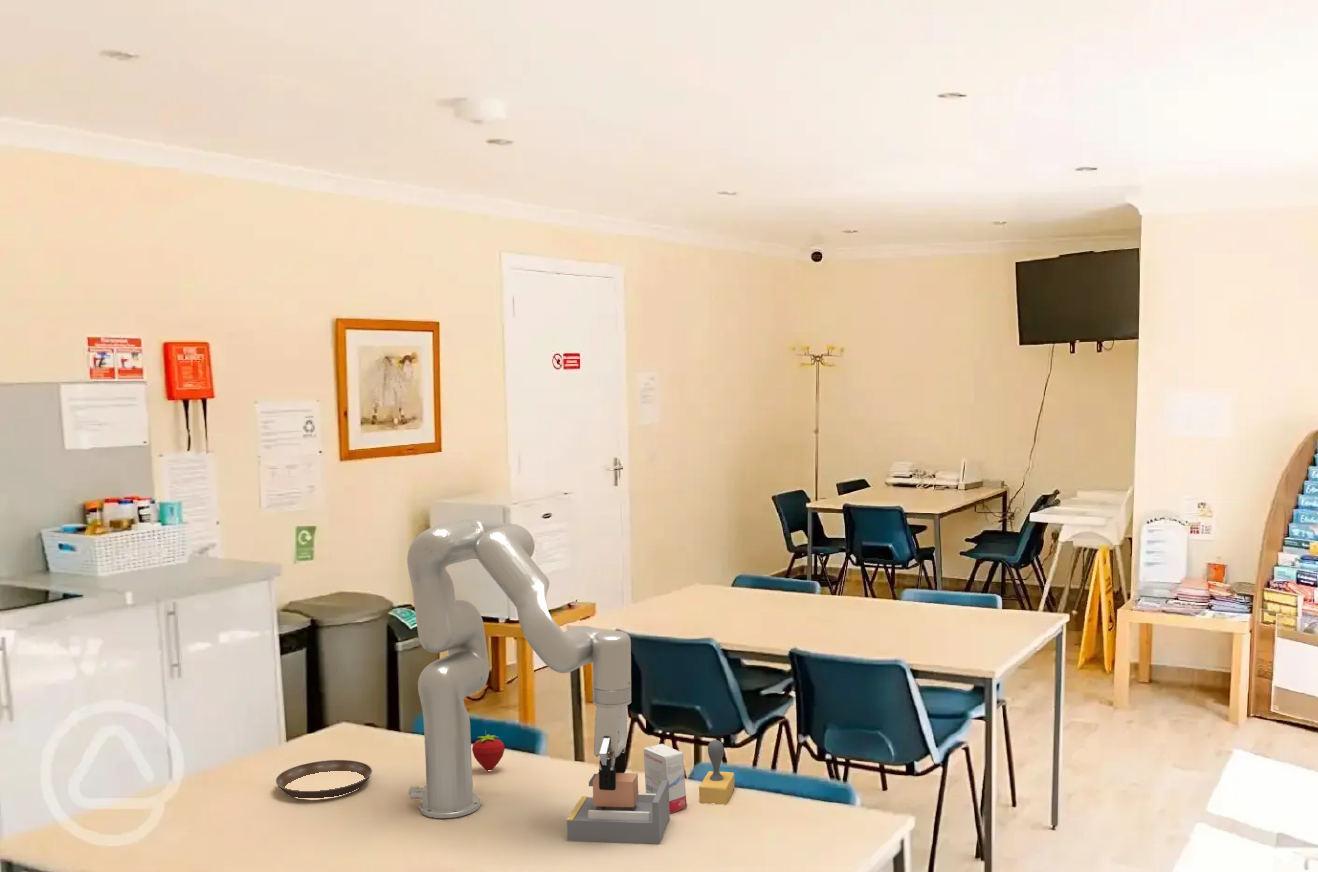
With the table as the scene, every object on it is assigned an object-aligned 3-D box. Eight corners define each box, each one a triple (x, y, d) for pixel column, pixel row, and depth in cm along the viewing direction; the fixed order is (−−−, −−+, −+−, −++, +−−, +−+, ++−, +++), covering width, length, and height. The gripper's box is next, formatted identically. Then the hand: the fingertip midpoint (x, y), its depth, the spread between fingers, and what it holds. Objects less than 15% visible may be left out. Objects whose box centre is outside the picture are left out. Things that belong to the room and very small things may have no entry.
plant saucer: (392, 781, 256) (391, 767, 256) (320, 811, 239) (319, 796, 238) (329, 768, 267) (328, 754, 267) (256, 795, 250) (255, 781, 249)
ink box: (687, 809, 233) (686, 752, 232) (667, 815, 230) (665, 757, 229) (664, 797, 240) (662, 742, 240) (644, 803, 237) (642, 747, 237)
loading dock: (567, 841, 218) (566, 800, 218) (582, 816, 230) (581, 777, 230) (659, 844, 215) (658, 802, 215) (669, 819, 227) (668, 780, 227)
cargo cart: (589, 813, 221) (588, 780, 221) (595, 804, 226) (594, 772, 226) (633, 815, 220) (632, 782, 219) (638, 805, 224) (637, 773, 224)
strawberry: (501, 776, 257) (500, 733, 256) (469, 776, 257) (467, 732, 257) (508, 768, 262) (507, 725, 262) (477, 767, 263) (475, 725, 263)
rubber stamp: (708, 787, 246) (706, 732, 245) (734, 788, 244) (733, 733, 244) (699, 803, 236) (697, 747, 236) (726, 805, 235) (724, 748, 234)
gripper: (602, 682, 231) (603, 765, 232) (583, 706, 214) (583, 795, 215) (638, 684, 230) (639, 767, 231) (622, 708, 213) (622, 797, 214)
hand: (612, 780), depth 223 cm, fingers open, 9 cm apart
